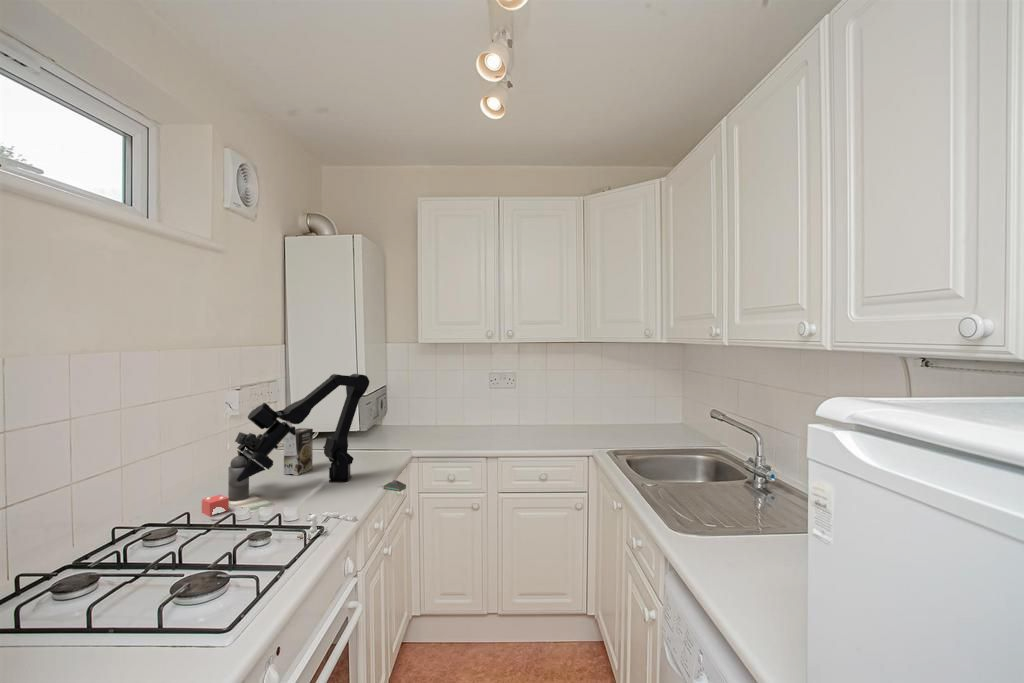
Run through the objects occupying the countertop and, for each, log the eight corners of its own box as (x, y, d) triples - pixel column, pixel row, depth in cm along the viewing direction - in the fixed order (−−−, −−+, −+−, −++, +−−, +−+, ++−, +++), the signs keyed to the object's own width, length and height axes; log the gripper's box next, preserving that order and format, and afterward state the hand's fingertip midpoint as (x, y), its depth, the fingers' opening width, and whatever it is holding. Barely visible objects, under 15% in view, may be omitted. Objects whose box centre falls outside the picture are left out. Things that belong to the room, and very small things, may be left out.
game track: (213, 504, 143) (213, 500, 143) (250, 494, 152) (250, 490, 152) (246, 519, 132) (246, 515, 132) (283, 507, 141) (284, 503, 141)
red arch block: (201, 516, 134) (201, 497, 133) (220, 511, 138) (220, 492, 138) (209, 520, 131) (209, 501, 131) (228, 515, 135) (228, 496, 135)
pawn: (252, 494, 148) (252, 453, 148) (243, 501, 143) (243, 458, 143) (234, 495, 148) (234, 453, 148) (224, 501, 143) (224, 458, 142)
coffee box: (298, 476, 173) (298, 433, 172) (283, 474, 174) (283, 432, 174) (313, 469, 182) (313, 428, 181) (298, 468, 183) (299, 427, 183)
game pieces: (315, 544, 118) (316, 522, 118) (277, 536, 122) (277, 514, 122) (413, 490, 160) (413, 473, 160) (382, 485, 164) (382, 469, 164)
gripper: (244, 418, 155) (205, 457, 147) (262, 427, 141) (220, 469, 134) (269, 438, 160) (233, 476, 153) (289, 448, 147) (250, 490, 139)
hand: (233, 478), depth 144 cm, fingers open, 8 cm apart
